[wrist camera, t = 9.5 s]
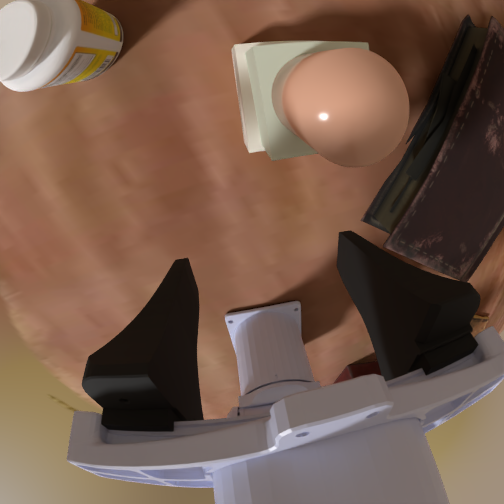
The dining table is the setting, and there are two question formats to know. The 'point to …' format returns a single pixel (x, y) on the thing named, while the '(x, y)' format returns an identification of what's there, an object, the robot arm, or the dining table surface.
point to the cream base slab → (248, 94)
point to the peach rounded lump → (343, 104)
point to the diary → (452, 163)
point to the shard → (478, 324)
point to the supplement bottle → (55, 43)
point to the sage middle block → (262, 77)
